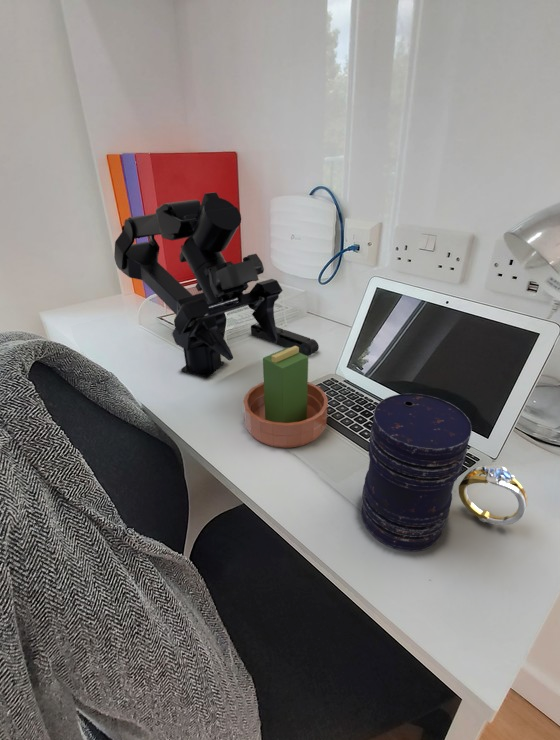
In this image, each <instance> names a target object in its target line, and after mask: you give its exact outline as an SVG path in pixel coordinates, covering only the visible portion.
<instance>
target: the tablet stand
mask: <svg viewBox="0 0 560 740" xmlns="http://www.w3.org/2000/svg"><path fill="white" fill-rule="evenodd" d="M276 332H277V338H278V341H277V342H276V343H273V342H272V341H271V340H270V339H269V338H268V336H267V335H266V334H265V332H264V331H263V329H262V328H261V326H260V325H259V324H258V322H255V323H253V324H251V325H250V335H251V336H253V337H256V338H257V339H261V340H264V341H267V342H269V343H271V344H275V345H277V346H280V347H283V348H288V347H289V348H291V347H293V346H297V347H299V353H302V354H304V355H306V356H308V357H310V356H312V355H313V354H315V353H316V352H318V351H319V349H320V348H319V346H320V345H319V343H318V341H316V340H315V339H314V338H310V337H308V336H304V335H302V334H298V333H296V332H292V331H290V330H288V329H287V330H286V329H284V328H281V327H278V326H276Z"/></svg>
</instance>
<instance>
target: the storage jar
mask: <svg viewBox="0 0 560 740" xmlns="http://www.w3.org/2000/svg"><path fill="white" fill-rule="evenodd" d="M372 417H373V418H372V420H373V421H372V423H371V429H370V433H369V443H368V447H367V448H368V450H367V451H368V458H369V462H368V463H369V464H368V470H367V471H366V474H365V477H364V484H363V486H362V495H361V497H362V498H361V501H362V502H361V508H360V516H361V520H362V523H363V526H364V527H365V529H366V530H367V532H368V533H369V534H370V535H371V536H372V537H373V538H374V539H376V540H377V541H378V542H380V543H382V544H383V545H385V546H387V547H388V548H392V549H395V550H398V551H402V552H420V551H424V550H427V549H429V548H432V547H433V546H434V545H436V544H437V542H439V541H440V539H441V537H442V534H443V530H444V527H445V525H446V523H447V521H448V518H449V515H450V510H451V505H452V501H453V492H452V491H453V488H454V484H455V482H456V481H457V480H458V478H459V477H460V475H461V473H462V470H463V466H464V463H465V459H466V456H467V452H468V445H469V441H470V438H471V435H472V431H473V426H472V422H471V420H470V419H469V417H468V416H467V415H466V414H465V412H464V411H462V410H461V409H460V408H458V407H457V406H456V405H454V404H453V403H451V402H449V401H446V400H444V399H441V398H439V397H435V396H431V395H427V394H422V393H399V394H394V395H391V396H388V397H386V398H383V399H381V401H379V403H378V404H376V406H375V407H374V411H373V416H372Z"/></svg>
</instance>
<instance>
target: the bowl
mask: <svg viewBox="0 0 560 740" xmlns="http://www.w3.org/2000/svg"><path fill="white" fill-rule="evenodd" d="M328 399H329V398H328V396H327V395H326V392H325V391H324V390H323V389H322V388H321V387H320V386H318V385H316V384H314V383H311V382H309V381H308V386H307V419H306V420H303V421H300V422H292V423H279V422H272V421H268V420H265V402H264V381H263V382H260V383H258V384H257V385H254V386H253V387H251V388H250V389H249V390H248V391H247V392H246V393H245V396H244V398H243V414H244V423H245V428H246V429H247V431H248V432H249V434H250V435H251V436H252V437H253V439H255V440H257V441H258V442H260V443H262V444H265V445H267V446H271V447H274V448H275V447H276V448H285V449H286V448H296V447H301V446H305V445H307V444H310V443H312V442H314V441H315V440H316V439H318V438H319V437H320V436H321V435H322V434H323V432H324V430H325V429H326V428H327V423H328V421H327V420H328V406H329V404H328V403H329V400H328Z"/></svg>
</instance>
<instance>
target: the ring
mask: <svg viewBox="0 0 560 740" xmlns="http://www.w3.org/2000/svg"><path fill="white" fill-rule="evenodd" d="M480 474H481V475H480ZM472 484H473V485H474V484H491V485H495V486H498V487H501V488H504V489H506V490H508V491H510V492H511V493H512V494H513V495H514V496H515V498H516V500H517V504H518V507H517V509H516V511H514V512H513V513H512V514H510V515H507V516H498V515H497V516H496V515H493V514H491V513H490V512H489V511H488V510H485V509H483V510H482V509H480V508H479V507H477V505H475V504H474V502H473V501H472V500H471V499H470V497H469V495H468V491H467V487H468V486H470V485H472ZM457 491H458V496H459V498H460V500H461V502H462V504H463V505H464V507H465V508H466V509H467V510H468V511H469V512H470V513H471V514H473V515H474V516H475V517H477V518H478V520H479V521H480V522H483V523H488V524H492V525H496V526H509V525H513V524H515V523H517V522H519V521H520V520H521V519H522V517H523V516H524V514H525V512H526V510H527V507H528V496H527V493H526V490H525V488H524V487H523V486H522V484H521V483H520V482H519V481H518V480H517V479H516V478H515V475H513V474H512V473H511V471H510V470H509V469H507V468H506V467H504V466H501V465H496V464H495V465H482V466H479V467H475V468H473V469H471V470H469V472H468V473H467V474H466V475H465V476H464V477H463V479H462V480H461V482H460V483H459V485H458V490H457Z"/></svg>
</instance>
